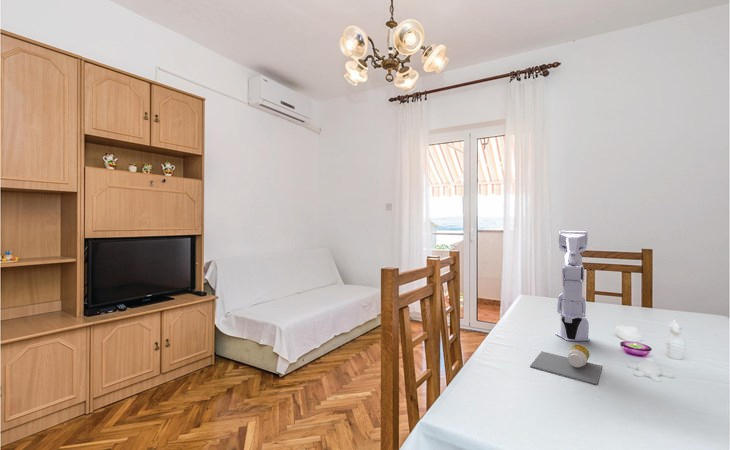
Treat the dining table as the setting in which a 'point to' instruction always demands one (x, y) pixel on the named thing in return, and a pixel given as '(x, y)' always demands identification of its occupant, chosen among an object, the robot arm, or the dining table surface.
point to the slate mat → (567, 368)
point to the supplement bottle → (578, 355)
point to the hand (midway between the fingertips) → (571, 338)
